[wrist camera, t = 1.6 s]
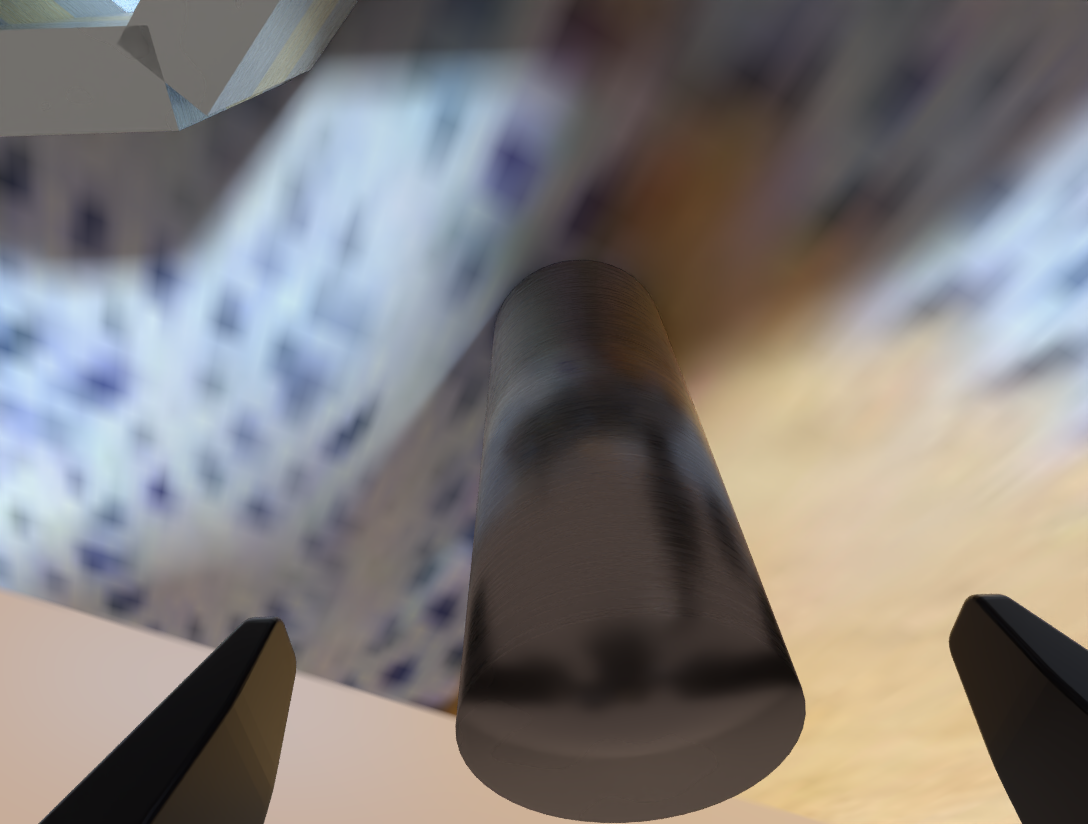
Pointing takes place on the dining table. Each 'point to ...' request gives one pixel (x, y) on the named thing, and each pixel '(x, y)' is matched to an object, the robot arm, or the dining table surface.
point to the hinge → (150, 60)
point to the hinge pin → (611, 575)
